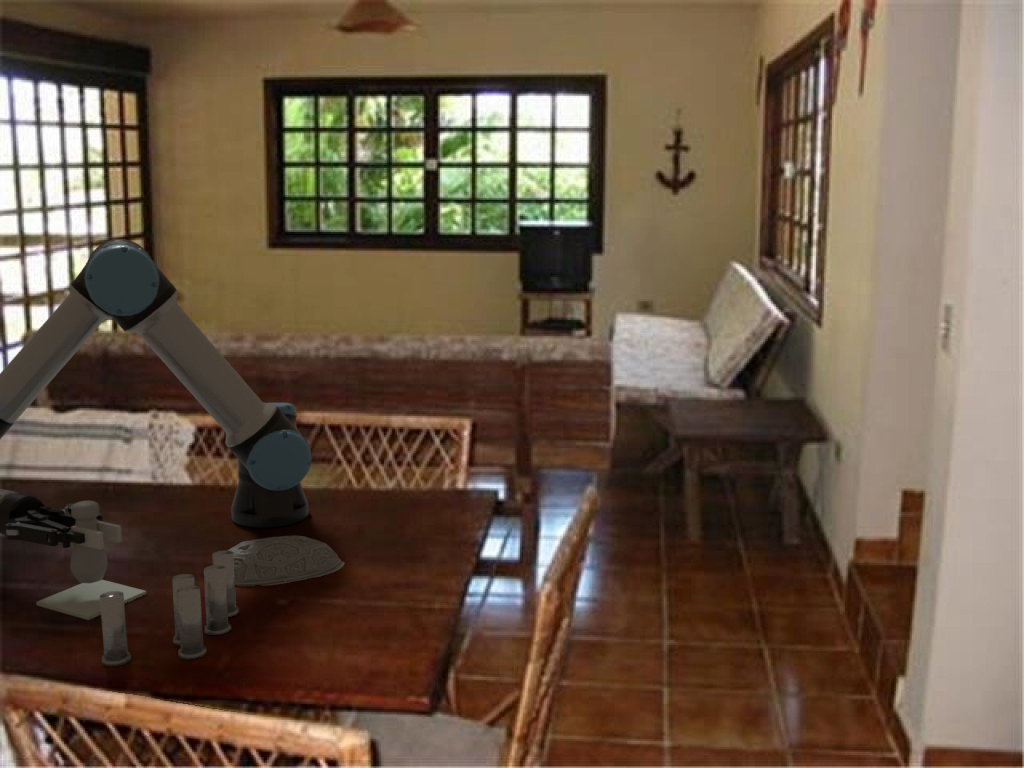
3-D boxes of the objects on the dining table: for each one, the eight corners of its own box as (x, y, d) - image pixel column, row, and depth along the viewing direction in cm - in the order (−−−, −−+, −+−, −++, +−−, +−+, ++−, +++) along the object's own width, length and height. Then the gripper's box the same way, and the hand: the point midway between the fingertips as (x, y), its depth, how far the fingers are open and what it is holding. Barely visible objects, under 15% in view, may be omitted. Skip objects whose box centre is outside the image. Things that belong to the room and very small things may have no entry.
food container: (197, 560, 205) (197, 526, 203) (336, 551, 214) (337, 518, 212) (205, 601, 191) (206, 564, 189) (353, 589, 200) (355, 554, 198)
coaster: (95, 581, 196) (95, 577, 196) (146, 594, 190) (146, 590, 190) (36, 605, 186) (36, 601, 186) (88, 620, 180) (88, 616, 180)
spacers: (237, 607, 185) (234, 548, 183) (253, 650, 169) (250, 586, 167) (99, 626, 178) (94, 565, 176) (102, 673, 162) (97, 606, 160)
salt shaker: (75, 588, 183) (69, 510, 181) (67, 576, 188) (61, 500, 185) (112, 580, 186) (107, 504, 184) (104, 569, 191) (99, 495, 188)
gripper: (53, 522, 202) (150, 545, 191) (-28, 549, 188) (71, 575, 177) (50, 481, 200) (147, 501, 189) (-32, 505, 186) (68, 529, 175)
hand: (110, 537), depth 183 cm, fingers closed on salt shaker, 3 cm apart
